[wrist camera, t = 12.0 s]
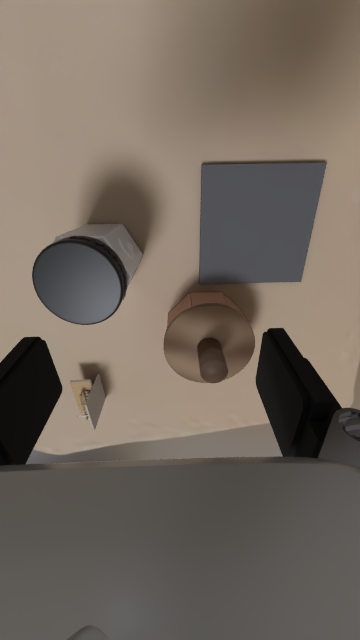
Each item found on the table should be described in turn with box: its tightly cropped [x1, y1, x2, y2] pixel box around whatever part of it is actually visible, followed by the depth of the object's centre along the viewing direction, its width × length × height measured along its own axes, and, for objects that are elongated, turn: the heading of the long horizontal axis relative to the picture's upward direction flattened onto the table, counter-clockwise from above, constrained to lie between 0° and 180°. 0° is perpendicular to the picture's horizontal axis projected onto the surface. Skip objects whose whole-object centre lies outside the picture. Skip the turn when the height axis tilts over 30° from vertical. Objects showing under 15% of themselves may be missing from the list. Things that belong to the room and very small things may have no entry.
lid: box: [164, 303, 255, 383], centre depth 32 cm, size 12×12×6 cm
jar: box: [32, 224, 143, 325], centre depth 28 cm, size 9×8×12 cm
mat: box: [199, 163, 327, 284], centre depth 32 cm, size 14×14×1 cm
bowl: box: [167, 292, 245, 328], centre depth 36 cm, size 11×11×5 cm
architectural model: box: [70, 374, 106, 431], centre depth 41 cm, size 3×7×7 cm, turn 4°
